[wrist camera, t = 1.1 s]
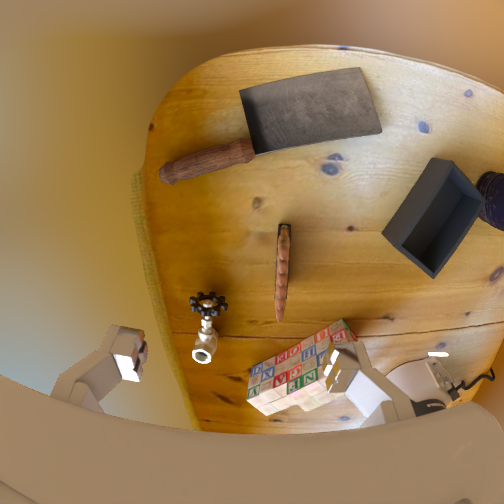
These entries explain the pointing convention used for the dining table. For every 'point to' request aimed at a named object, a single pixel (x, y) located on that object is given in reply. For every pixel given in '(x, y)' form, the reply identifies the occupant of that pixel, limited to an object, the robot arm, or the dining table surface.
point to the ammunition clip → (282, 268)
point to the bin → (435, 216)
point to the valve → (206, 325)
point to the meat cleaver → (289, 120)
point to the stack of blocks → (297, 373)
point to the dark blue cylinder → (492, 198)
